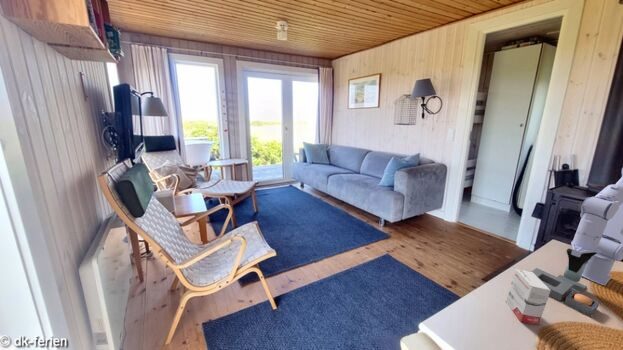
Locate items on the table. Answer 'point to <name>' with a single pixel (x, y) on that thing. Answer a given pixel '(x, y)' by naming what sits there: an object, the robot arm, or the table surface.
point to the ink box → (527, 296)
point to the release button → (583, 299)
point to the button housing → (581, 304)
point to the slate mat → (574, 284)
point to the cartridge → (573, 275)
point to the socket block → (554, 284)
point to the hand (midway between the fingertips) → (575, 268)
